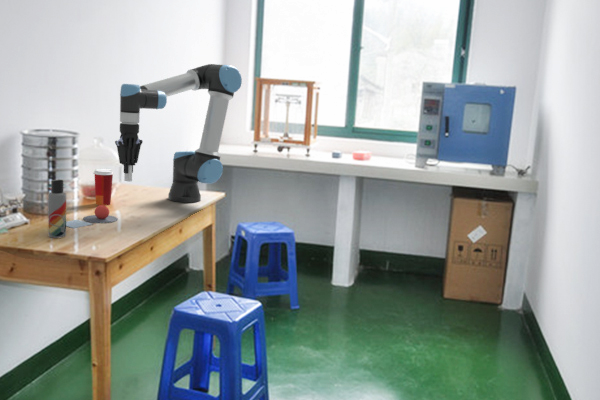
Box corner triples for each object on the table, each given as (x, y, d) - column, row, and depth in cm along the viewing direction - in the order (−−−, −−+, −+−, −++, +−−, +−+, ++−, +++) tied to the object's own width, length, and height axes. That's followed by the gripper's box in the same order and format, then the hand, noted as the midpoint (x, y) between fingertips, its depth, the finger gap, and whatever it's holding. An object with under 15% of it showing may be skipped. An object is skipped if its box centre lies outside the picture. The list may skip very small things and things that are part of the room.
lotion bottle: (57, 239, 205) (58, 181, 202) (44, 236, 207) (44, 179, 203) (69, 235, 211) (70, 179, 207) (56, 232, 213) (56, 177, 209)
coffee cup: (112, 202, 268) (113, 169, 265) (113, 206, 260) (113, 172, 257) (92, 201, 265) (93, 168, 262) (92, 206, 257) (93, 171, 254)
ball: (99, 219, 240) (104, 206, 241) (108, 222, 237) (114, 209, 238) (89, 215, 235) (95, 202, 236) (99, 217, 232) (104, 204, 234)
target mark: (102, 213, 245) (102, 213, 245) (124, 219, 239) (124, 219, 239) (75, 218, 234) (75, 218, 234) (98, 224, 228) (98, 224, 228)
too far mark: (77, 220, 232) (77, 219, 232) (93, 224, 228) (93, 223, 228) (57, 223, 225) (57, 223, 225) (73, 228, 220) (73, 227, 220)
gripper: (134, 121, 248) (133, 178, 253) (110, 122, 237) (109, 181, 242) (148, 123, 245) (146, 180, 249) (124, 124, 234) (122, 184, 238)
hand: (128, 180), depth 246 cm, fingers closed
